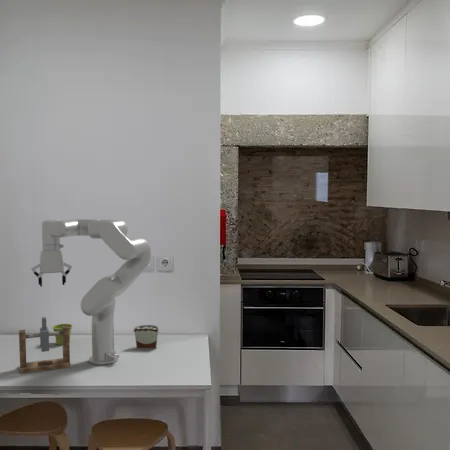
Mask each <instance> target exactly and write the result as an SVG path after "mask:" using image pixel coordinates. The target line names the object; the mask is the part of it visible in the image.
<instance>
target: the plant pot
mask: <svg viewBox="0 0 450 450" xmlns="http://www.w3.org/2000/svg"><path fill="white" fill-rule="evenodd" d="M62 326H69V344H70V342H71V335H72V333H71V332H72V328H73V324H71V323H58V324H55V325H53V326H52V329H53V332H57V331H62ZM54 337H55V342H56V345H58V346H63V337H62V335H56V336H54Z"/></svg>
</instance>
